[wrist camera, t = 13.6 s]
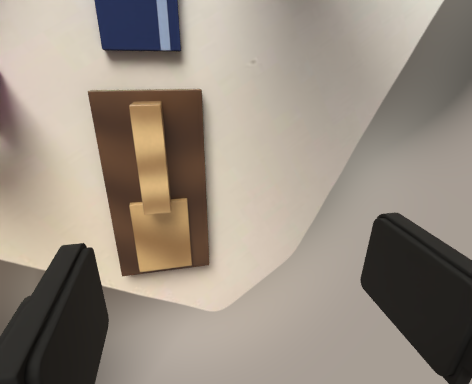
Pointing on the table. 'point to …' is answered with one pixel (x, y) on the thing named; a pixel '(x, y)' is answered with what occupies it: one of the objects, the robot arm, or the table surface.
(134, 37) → the navy tea towel
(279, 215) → the table surface
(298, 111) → the table surface
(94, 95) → the walnut board
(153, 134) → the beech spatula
